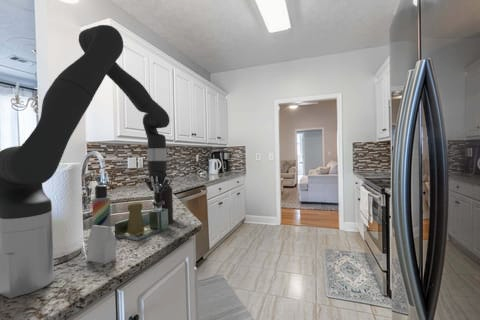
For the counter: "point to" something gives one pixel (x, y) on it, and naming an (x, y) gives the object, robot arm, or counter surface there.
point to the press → (151, 223)
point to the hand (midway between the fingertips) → (158, 201)
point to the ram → (158, 205)
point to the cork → (135, 218)
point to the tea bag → (101, 245)
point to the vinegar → (168, 202)
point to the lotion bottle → (101, 207)
